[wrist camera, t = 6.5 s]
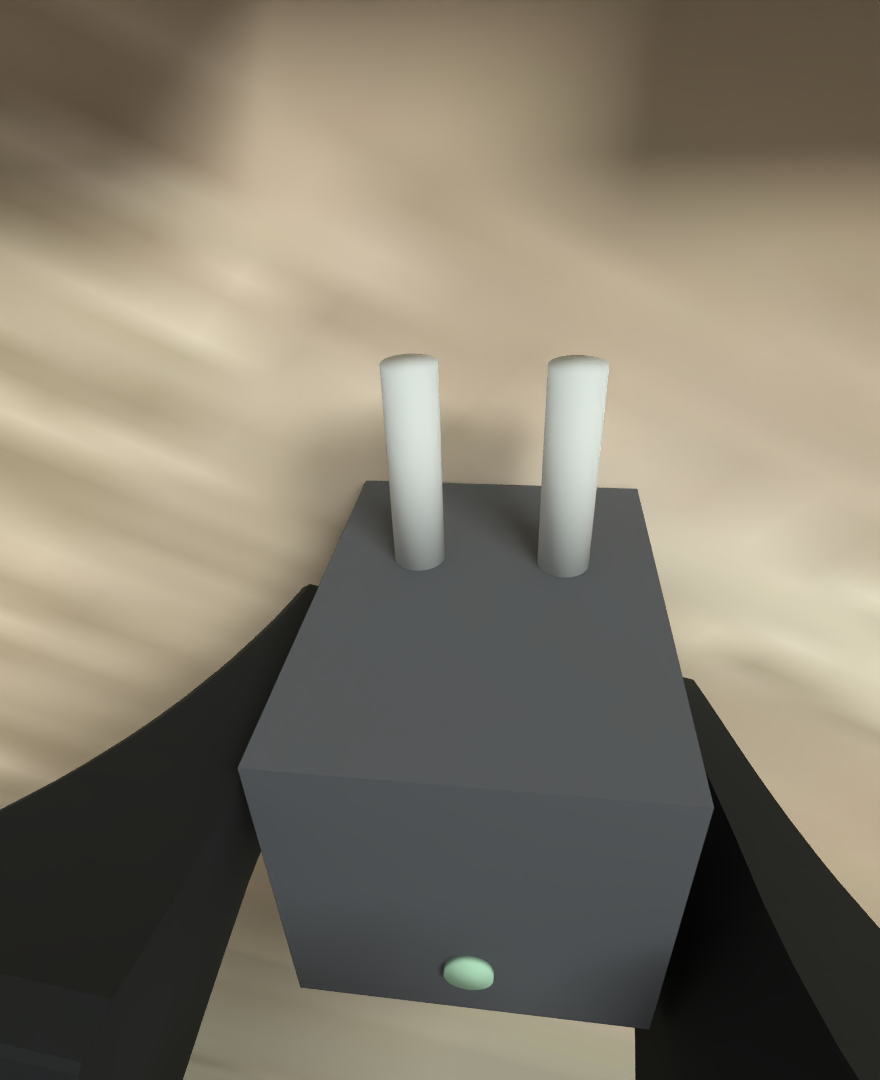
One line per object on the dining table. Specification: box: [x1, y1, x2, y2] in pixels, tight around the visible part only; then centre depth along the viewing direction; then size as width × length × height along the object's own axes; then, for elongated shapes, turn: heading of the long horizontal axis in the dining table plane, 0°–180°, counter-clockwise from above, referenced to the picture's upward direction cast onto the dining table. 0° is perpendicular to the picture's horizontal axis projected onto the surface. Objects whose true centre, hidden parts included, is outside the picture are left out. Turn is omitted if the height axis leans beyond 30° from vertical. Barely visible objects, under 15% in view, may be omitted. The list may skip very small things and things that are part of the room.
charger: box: [238, 354, 714, 1029], centre depth 9 cm, size 4×7×6 cm, turn 1°
